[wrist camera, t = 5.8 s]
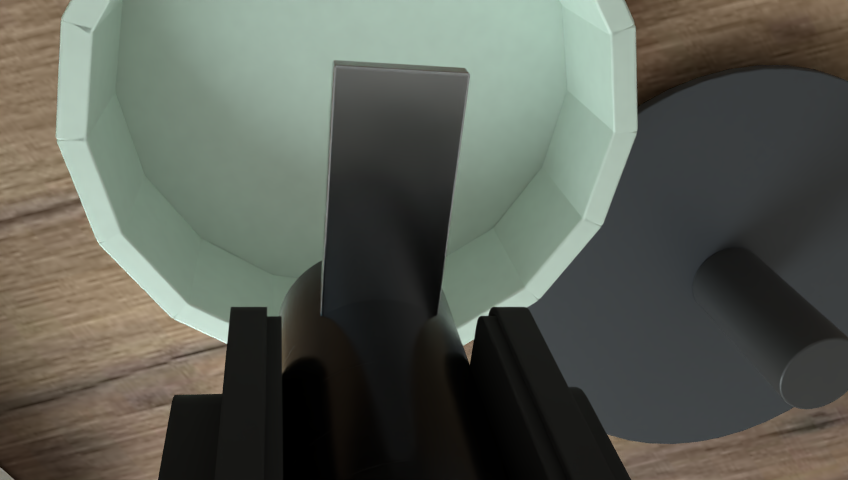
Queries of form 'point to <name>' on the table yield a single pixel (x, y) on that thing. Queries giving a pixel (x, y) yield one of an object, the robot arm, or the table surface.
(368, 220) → the blade
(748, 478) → the table surface
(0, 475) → the document scanner
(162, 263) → the bowl
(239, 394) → the robot arm
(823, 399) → the lid
